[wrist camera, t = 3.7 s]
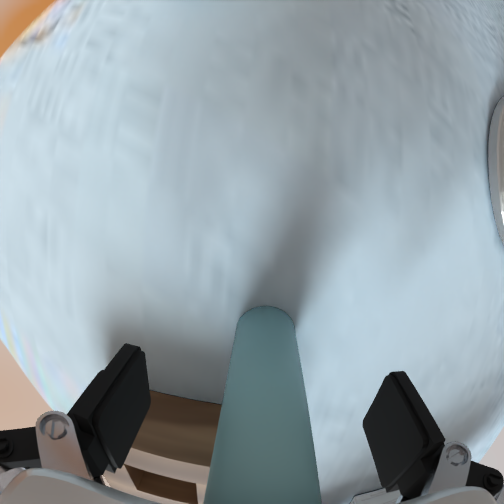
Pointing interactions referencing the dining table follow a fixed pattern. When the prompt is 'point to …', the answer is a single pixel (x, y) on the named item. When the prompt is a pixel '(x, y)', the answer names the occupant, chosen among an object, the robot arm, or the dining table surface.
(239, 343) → the peg
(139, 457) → the socket block
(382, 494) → the skincare box
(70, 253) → the dining table surface
